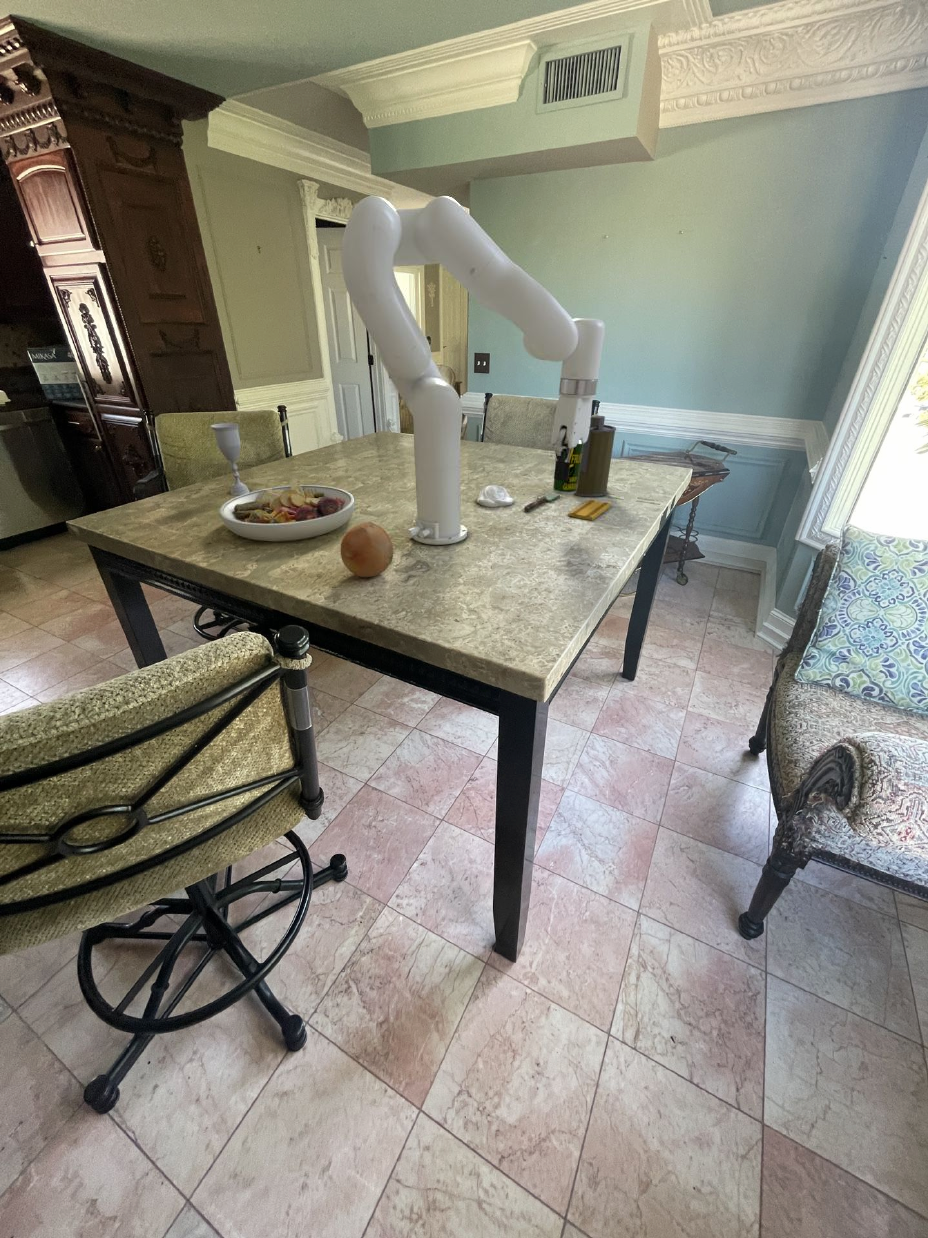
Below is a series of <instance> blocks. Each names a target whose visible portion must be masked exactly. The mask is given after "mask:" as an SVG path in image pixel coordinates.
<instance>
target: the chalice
mask: <svg viewBox="0 0 928 1238" xmlns="http://www.w3.org/2000/svg"><path fill="white" fill-rule="evenodd" d="M210 427H211V429H212V430H213V433H214V437H215V440H216V445H217V447H218V449H219V451H220V452H221V453H222V455H223V456H224V458H225V459H226V460H227V461H228V462H230V463H231V469H232V471H233V474H232V476H233V477H234V480H235V482H234V483H233V484H232V486H231V488H230V489H231V490H230V494H231V495H233V496H240V495H243V494H246V493H250V492H251V491H250V490H249V489H248V486H247V485H246V484H245V483H243V482H242V481H240V474H239V472H238V469H239V467H238V466H237V464H236V461H238V460H239V457H240V452H241V445H242V442H241V437H240V434H239V423H237V422H224V423H223V422H222V423H215V424H211V425H210Z"/></svg>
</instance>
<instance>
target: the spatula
mask: <svg viewBox="0 0 928 1238" xmlns="http://www.w3.org/2000/svg"><path fill="white" fill-rule="evenodd" d="M560 497H561V494H557V493H555V492H547V491H546V492H545V493H543V494H542V495H539V496H538V497H537V498H536V500H533V501H532V502H530V503H529V504H527V505H524V507H523V510H524V511H525V512H529V511H531V510H532V509H535V508H536V507H538V506H539V505H541V504H543V503H545V502H546V503H552V502H554V501H556V500H557V499H559V498H560Z"/></svg>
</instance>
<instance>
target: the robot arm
mask: <svg viewBox="0 0 928 1238" xmlns="http://www.w3.org/2000/svg"><path fill="white" fill-rule="evenodd" d="M342 235H343V236H342V241H341V250H340V256H341V257H340V258H341V270H342V275H343V280H344V284H345V287H346V290H347V293H348V294H349V298H350V300H351V302H352V304H353V306H354V308H355V310H356V312H357V313H358V315H359V317H360V319H361V321H362V323H363V325H364V327H365V329H366V331H367V333H368V334H369V336H370V337H371V340H372V341H373V343H374V345H375V347H376V348H377V350H378V355H379V359H380V362H381V365H382V366H383V368H384V369H385V371H386V373H387V375H388V376H389V378H390V380H391V382H392V383H393V385H394V387H395V388H396V390H397V392H398V394H399V395H400V397H401V399H402V400H403V403H404V404H405V406H406V408H407V409H408V411H409V413H410V414H411V416H412V421H413V457H414V474H415V476H414V477H415V492H416V493H415V496H416V497H415V498H416V516H417V517H416V518H415V519H414V520H415V524H414V525H413V526H412V527H409V528H407V529H405V532H404V535H405V537H406V538H407V539H413V540H414V541H416V542H419V543H421V544H426V545H433V546H435V545H436V546H439V545H441V546H443V545H451V544H456V543H459V542H461V541H463V540H465V539H466V538H467V536H468V528H467V527H466V526H465V525H464V524H461V440H462V439H461V436H462V427H463V426H462V425H463V406H462V401H461V398H460V396H459V394H458V392H457V391H456V389H455V388H454V387H453V386H452V385H451V384H449V382H446V381H445V380H444V377H443V376H442V374H441V372H440V370H439V368H438V366H437V364H436V362H435V361H434V359H433V356H432V350H431V345H430V343H429V340H428V339H427V336H426V335H425V334H424V331H422V328H421V327H420V326H419V323H418V322H417V320H416V318H415V316H414V314H413V312H412V310H411V308H410V306H409V305H408V303H407V300H406V299H405V297H404V294H403V292H402V290H401V288H400V286H399V284H398V281H397V279H396V275H395V272H394V267H412V266H413V267H414V266H427V265H428V266H429V265H436V264H440V265H441V266H442V267H443V268H444V269H445V270H446V272H447V273H449V274H450V275H451V277H453V278H454V279H455V280H456V281H457V282H458V283H459V284H460V286H462V287H463V288H464V289H465V291H466V292H467V293H468V294H469V295H470V296H471V297H472V298H473V299H474V300H475V301H476V302H477V303H478V304H479V305H481V306H482V307H484V308H485V309H487V310H488V311H491V312H493V313H495V314H496V315H499V316H500V317H503V318H504V319H506V320H507V321H509V322H510V323H511V324H513V325H514V326H515V327H516V328H518V329H519V330H520V331H521V332H522V333H523V335H522V343H523V347H524V349H525V351H526V352H527V354H528V355H529V356H531V357H532V358H534V359H537V360H541V361H547V362H553V363H558V362H561V370H560V379H559V387H558V396H559V397H558V400H557V404H556V408H555V412H554V419H553V424H552V432H551V437H550V444H551V446H552V447H553V451H554V454H555V459H554V462H555V465H554V472H553V473H554V474H553V480H554V479H555V480H561V481H568V478H569V471H570V463H571V462H569V459H570V455H571V451H572V448H574V447H576V446H577V443H578V442H579V439H580V438H583V442H584V443H585V442H586V441H587V439H588V435H589V429H590V422H591V416H592V411H593V399H594V398H596V395H597V390H598V382H599V374H600V367H601V361H602V354H603V348H604V341H605V334H606V324H605V321H603V320H602V319H599V318H588V317H587V318H584V317H582V318H572V316H571V315H570V314H569V313H568V312H567V310H566V309H565V308H564V307H563V306H562V305H561V304H560V303H559V302H558V300H557V299H556V298H555V297H554V295H552V294H551V293H550V292H549V291H548V290H547V289H546V288H545V287H544V286H542V285H541V284H540V283H539V282H538V281H537V280H535V279H534V278H533V277H531V276H530V275H529V273H527V272H526V271H525V270H524V269H522V267H520V266H519V265H518V264H516V263H515V262H513V260H511V259H510V258H509V257H508V255H507V254H506V253H505V252H504V251H503V250H502V249H501V248H500V247H499V245H497V244H496V243H495V241H494V240H493V239H492V238H491V237H490V236H489V235H488V233H486V231H485V230H484V229H483V228H482V227H481V226H480V225H479V223H478V222H477V221H476V220H475V219H474V218H473V216H471V215H470V213H469V212H468V211H467V210H466V209H465V208H464V207H463V205H461V204H460V203H459V202H458V201H457V200H455V199H454V198H453V197H450V196H447V195H442V196H437V197H435V198H433V199H432V200H430V201H429V202H428V203H427V204H426V205H425V206H424V207H417V208H403V209H395V207H394V206H393V205H392V203H390V202H389V201H388V200H387V199H385V198H383V197H381V196H378V195H369V196H366V197H364V198H362V199H361V200H360V201H358V203H357V204H355V206H354V207H353V209H352V211H351V213H350V215H349V217H348V219H347V222H346V225H345V228H344V232H343V234H342ZM563 444H568V447H567V446H563ZM583 447H584V444H583ZM563 450H567V453H565V451H563ZM582 454H583V451H582Z"/></svg>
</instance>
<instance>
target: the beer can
mask: <svg viewBox="0 0 928 1238" xmlns="http://www.w3.org/2000/svg"><path fill="white" fill-rule="evenodd" d="M583 444H584V442H583V438H580V439H579V442H578V443H577V446H576V447H574V448H572V451H571V455H570V459H569V462H571V463H570V471H569V478H568V481H561V480H555V479H554V478H553V484H552V485H553V486H552V489H553V493H554V494H559V495H560V496H561V495H562V496H571V495H572V496H573V495H576V494H575V493H576V491H577V487H578V480H579V473H580V465H581V458H582V451H583ZM563 446H567V447H568V444H563ZM563 451H565V453H567V450H563Z"/></svg>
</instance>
